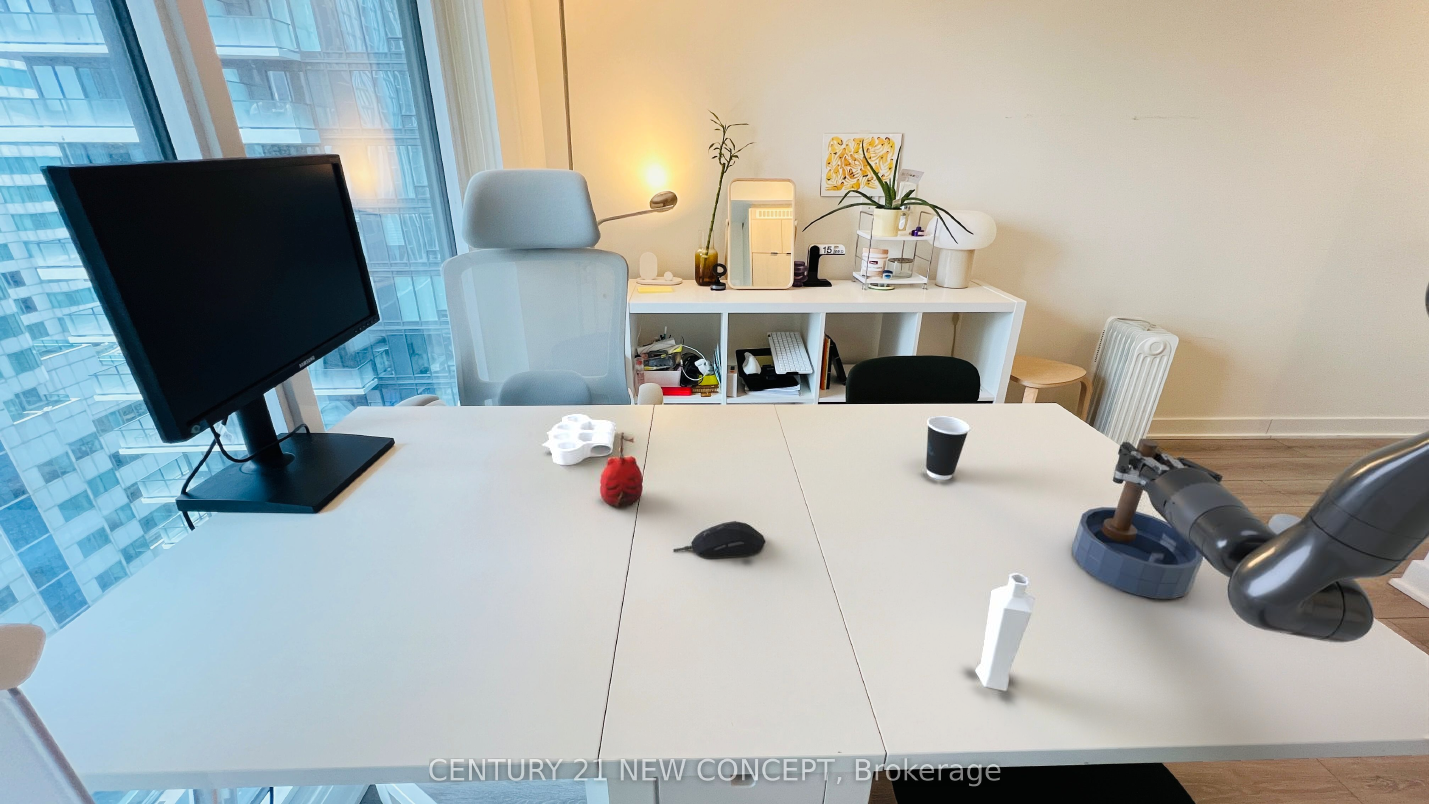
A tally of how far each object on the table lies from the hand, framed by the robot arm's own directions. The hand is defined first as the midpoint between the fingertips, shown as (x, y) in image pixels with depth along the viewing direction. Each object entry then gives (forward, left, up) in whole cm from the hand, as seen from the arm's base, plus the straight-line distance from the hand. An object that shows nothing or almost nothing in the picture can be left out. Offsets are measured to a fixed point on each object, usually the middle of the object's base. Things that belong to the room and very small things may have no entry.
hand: (1134, 448), depth 90 cm
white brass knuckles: (+94, +28, -19) cm, 100 cm away
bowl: (-4, +2, -19) cm, 19 cm away
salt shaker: (-20, -3, -19) cm, 28 cm away
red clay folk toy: (+71, +38, -19) cm, 83 cm away
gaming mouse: (+49, +39, -19) cm, 65 cm away
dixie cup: (+29, -9, -19) cm, 36 cm away
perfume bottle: (+7, +38, -19) cm, 43 cm away
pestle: (-1, +3, -13) cm, 14 cm away
